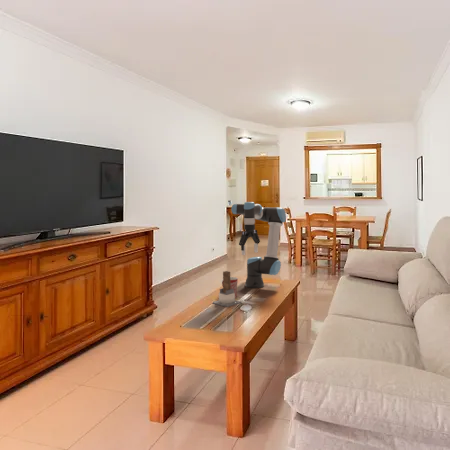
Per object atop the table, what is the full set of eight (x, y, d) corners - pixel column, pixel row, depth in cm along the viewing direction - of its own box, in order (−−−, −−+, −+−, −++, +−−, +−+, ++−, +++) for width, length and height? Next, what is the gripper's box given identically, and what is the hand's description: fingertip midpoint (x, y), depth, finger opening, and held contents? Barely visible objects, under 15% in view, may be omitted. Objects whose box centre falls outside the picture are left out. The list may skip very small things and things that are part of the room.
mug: (240, 296, 308) (240, 277, 307) (233, 298, 301) (233, 280, 300) (226, 293, 316) (226, 275, 315) (219, 296, 309) (219, 278, 307)
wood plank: (226, 292, 292) (226, 270, 291) (230, 293, 289) (230, 271, 288) (223, 293, 290) (223, 271, 288) (227, 294, 287) (227, 272, 286)
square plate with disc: (226, 299, 300) (226, 285, 299) (241, 302, 290) (241, 288, 289) (212, 303, 290) (212, 289, 289) (227, 306, 280) (227, 292, 279)
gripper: (256, 222, 309) (257, 250, 311) (233, 225, 291) (234, 255, 293) (264, 222, 304) (264, 251, 306) (241, 225, 286) (242, 256, 288)
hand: (249, 253), depth 300 cm, fingers open, 13 cm apart
